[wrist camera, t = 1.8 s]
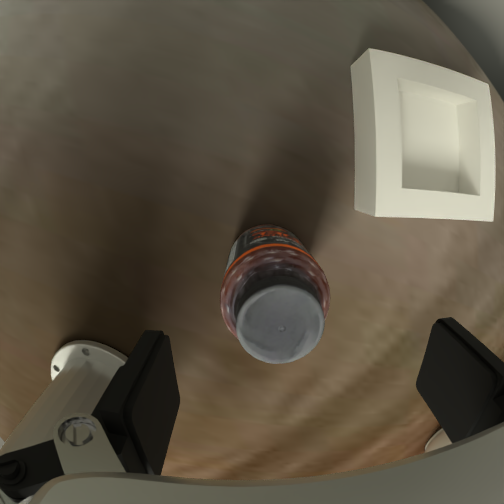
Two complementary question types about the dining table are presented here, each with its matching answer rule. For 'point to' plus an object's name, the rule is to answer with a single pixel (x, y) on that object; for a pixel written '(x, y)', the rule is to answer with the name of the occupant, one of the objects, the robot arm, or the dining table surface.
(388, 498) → the robot arm
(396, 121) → the socket
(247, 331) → the supplement bottle
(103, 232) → the dining table surface
